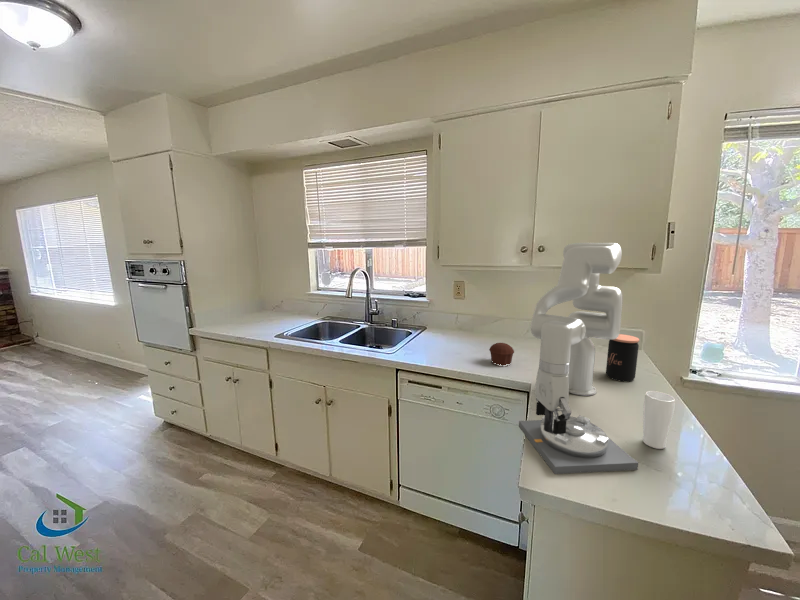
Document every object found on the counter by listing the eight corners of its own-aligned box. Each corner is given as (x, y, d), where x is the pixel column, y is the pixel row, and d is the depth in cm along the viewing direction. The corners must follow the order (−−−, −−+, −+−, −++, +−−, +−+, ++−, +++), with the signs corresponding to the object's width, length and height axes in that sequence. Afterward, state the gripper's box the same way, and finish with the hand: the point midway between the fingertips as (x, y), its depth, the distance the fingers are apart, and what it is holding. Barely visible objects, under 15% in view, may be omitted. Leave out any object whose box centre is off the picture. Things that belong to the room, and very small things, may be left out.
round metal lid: (553, 456, 87) (556, 423, 85) (532, 422, 103) (534, 393, 102) (620, 458, 85) (624, 424, 84) (588, 423, 102) (590, 394, 101)
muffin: (516, 362, 162) (517, 342, 161) (510, 369, 153) (511, 348, 152) (492, 357, 169) (493, 339, 167) (485, 364, 160) (486, 344, 158)
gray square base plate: (518, 426, 105) (519, 420, 105) (585, 423, 106) (585, 417, 106) (554, 473, 83) (555, 466, 83) (637, 469, 85) (638, 461, 84)
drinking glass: (655, 437, 99) (661, 390, 96) (675, 451, 92) (682, 401, 89) (633, 437, 98) (639, 390, 96) (651, 451, 92) (658, 401, 89)
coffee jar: (600, 372, 149) (604, 333, 146) (625, 372, 148) (630, 334, 145) (613, 381, 138) (617, 340, 135) (640, 382, 137) (645, 341, 134)
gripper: (526, 356, 99) (523, 409, 101) (557, 379, 82) (552, 442, 84) (551, 355, 99) (547, 408, 102) (586, 378, 82) (580, 440, 85)
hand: (549, 423), depth 93 cm, fingers open, 9 cm apart
